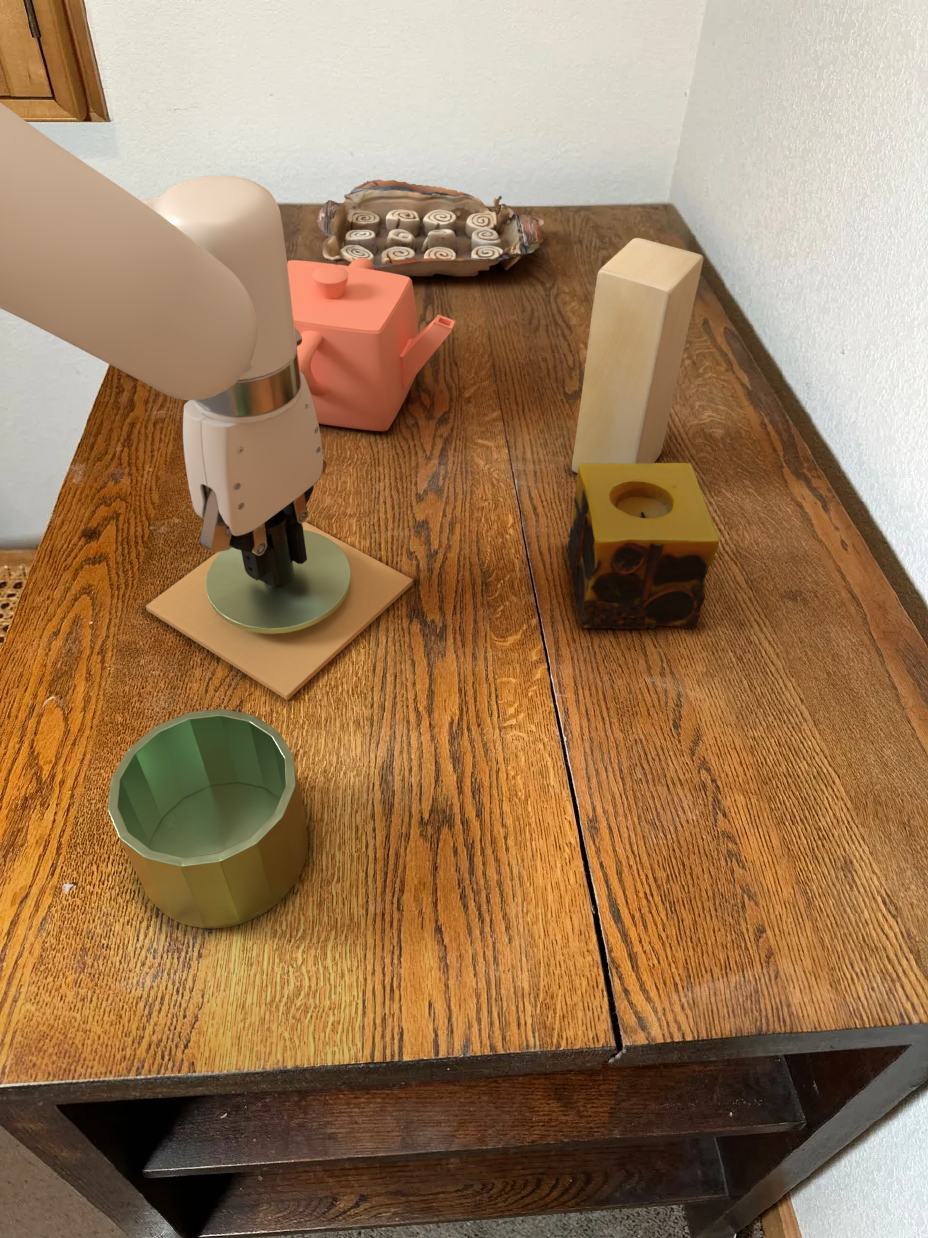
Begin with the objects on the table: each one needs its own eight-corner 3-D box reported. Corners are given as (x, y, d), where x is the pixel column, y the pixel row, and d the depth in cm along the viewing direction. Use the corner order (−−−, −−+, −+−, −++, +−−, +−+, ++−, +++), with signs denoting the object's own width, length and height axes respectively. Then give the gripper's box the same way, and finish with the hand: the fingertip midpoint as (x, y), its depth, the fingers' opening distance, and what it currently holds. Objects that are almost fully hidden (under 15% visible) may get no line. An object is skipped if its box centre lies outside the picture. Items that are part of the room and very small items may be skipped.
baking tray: (529, 212, 132) (532, 172, 128) (559, 287, 118) (563, 245, 114) (316, 218, 129) (313, 178, 125) (320, 297, 115) (316, 254, 111)
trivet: (287, 700, 72) (286, 696, 72) (146, 610, 78) (145, 605, 78) (413, 584, 81) (413, 579, 81) (278, 511, 87) (277, 506, 87)
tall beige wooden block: (597, 429, 98) (628, 232, 82) (662, 452, 95) (707, 254, 80) (562, 469, 93) (589, 268, 77) (630, 495, 90) (671, 293, 75)
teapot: (234, 442, 94) (210, 317, 84) (310, 332, 109) (297, 214, 99) (424, 475, 92) (423, 350, 81) (475, 358, 106) (480, 239, 96)
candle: (697, 630, 79) (725, 543, 71) (579, 632, 78) (594, 544, 71) (674, 547, 86) (697, 460, 78) (564, 549, 85) (577, 461, 78)
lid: (284, 661, 73) (271, 593, 68) (177, 595, 78) (158, 526, 72) (380, 576, 80) (376, 507, 74) (277, 520, 85) (266, 451, 79)
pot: (224, 963, 58) (199, 901, 52) (105, 866, 63) (69, 798, 56) (341, 835, 65) (332, 766, 58) (225, 754, 69) (205, 682, 63)
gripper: (285, 309, 70) (308, 499, 83) (114, 409, 61) (171, 603, 74) (362, 342, 67) (374, 533, 80) (195, 452, 58) (239, 646, 71)
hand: (276, 565), depth 77 cm, fingers closed on lid, 2 cm apart
